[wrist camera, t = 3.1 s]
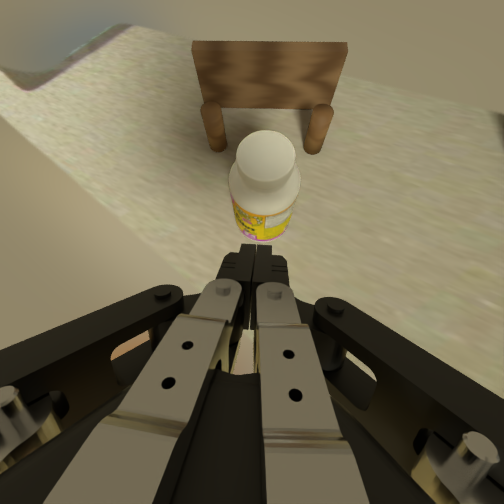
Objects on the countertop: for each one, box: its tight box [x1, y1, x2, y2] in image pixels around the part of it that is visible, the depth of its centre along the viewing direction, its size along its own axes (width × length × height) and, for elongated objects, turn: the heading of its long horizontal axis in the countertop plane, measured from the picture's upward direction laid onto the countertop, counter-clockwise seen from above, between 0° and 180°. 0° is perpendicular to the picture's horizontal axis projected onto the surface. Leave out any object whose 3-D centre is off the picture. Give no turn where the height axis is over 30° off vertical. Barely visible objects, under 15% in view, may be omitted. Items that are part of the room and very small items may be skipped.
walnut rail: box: [191, 41, 348, 109], centre depth 33 cm, size 18×2×8 cm, turn 87°
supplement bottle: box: [229, 130, 301, 242], centre depth 26 cm, size 7×7×13 cm
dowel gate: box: [201, 102, 334, 155], centre depth 32 cm, size 15×2×6 cm, turn 87°
